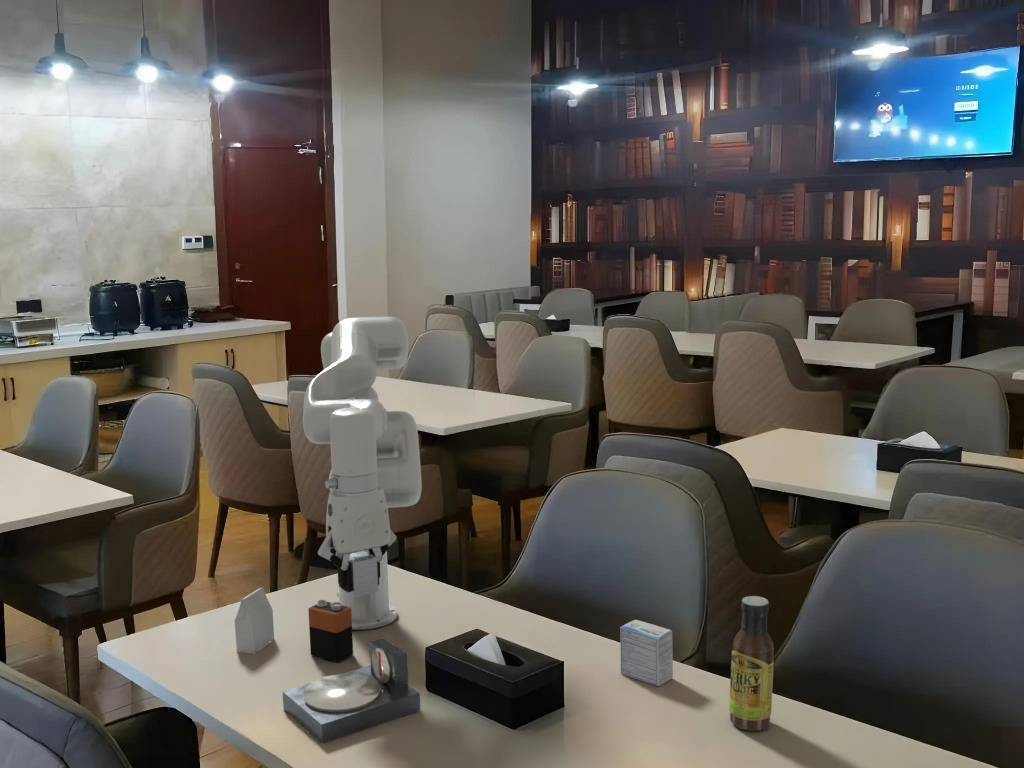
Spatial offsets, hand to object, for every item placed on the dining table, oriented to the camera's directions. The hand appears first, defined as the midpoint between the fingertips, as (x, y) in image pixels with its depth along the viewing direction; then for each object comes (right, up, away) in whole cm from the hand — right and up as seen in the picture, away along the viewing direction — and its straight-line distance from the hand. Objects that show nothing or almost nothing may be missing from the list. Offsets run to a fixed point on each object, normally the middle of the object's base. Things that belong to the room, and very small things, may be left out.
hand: (359, 585), depth 180 cm
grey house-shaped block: (-21, -14, +15) cm, 30 cm away
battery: (-6, -15, +10) cm, 19 cm away
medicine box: (+48, -15, -1) cm, 51 cm away
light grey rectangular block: (0, -1, 0) cm, 1 cm away
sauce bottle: (+62, -18, -18) cm, 67 cm away
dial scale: (0, -18, -11) cm, 21 cm away
